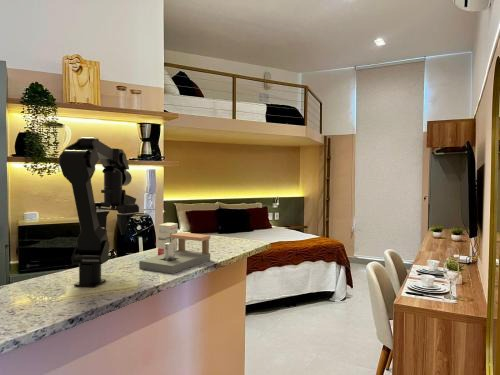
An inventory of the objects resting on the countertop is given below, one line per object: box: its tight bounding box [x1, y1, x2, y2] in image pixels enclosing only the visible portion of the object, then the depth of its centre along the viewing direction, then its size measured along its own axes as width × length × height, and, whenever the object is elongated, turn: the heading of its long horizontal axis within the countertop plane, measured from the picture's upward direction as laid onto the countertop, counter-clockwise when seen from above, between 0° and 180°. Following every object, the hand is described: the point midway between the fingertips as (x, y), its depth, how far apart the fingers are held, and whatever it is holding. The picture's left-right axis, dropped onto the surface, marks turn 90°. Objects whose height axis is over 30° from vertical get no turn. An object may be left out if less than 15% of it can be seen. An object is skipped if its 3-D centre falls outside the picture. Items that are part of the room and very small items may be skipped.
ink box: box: [157, 222, 179, 256], centre depth 150 cm, size 9×5×12 cm, turn 168°
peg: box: [164, 242, 175, 261], centre depth 129 cm, size 4×4×8 cm
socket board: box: [138, 232, 211, 274], centre depth 133 cm, size 22×14×9 cm, turn 152°
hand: (113, 233), depth 125 cm, fingers open, 9 cm apart
